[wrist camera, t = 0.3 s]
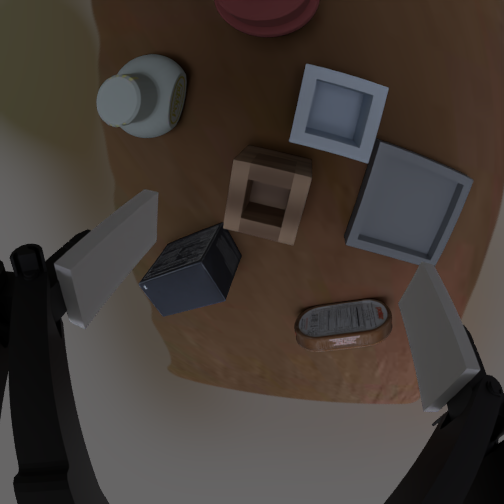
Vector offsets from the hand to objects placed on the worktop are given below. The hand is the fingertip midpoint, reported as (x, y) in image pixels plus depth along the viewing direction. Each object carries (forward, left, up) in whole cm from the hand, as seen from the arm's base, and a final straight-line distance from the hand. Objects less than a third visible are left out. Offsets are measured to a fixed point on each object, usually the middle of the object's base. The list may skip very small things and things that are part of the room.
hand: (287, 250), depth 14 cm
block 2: (-6, +3, -25) cm, 26 cm away
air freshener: (-4, -19, -25) cm, 32 cm away
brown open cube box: (+5, -2, -25) cm, 26 cm away
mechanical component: (-17, -6, -25) cm, 31 cm away
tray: (+3, +16, -25) cm, 30 cm away
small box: (+18, -10, -25) cm, 33 cm away
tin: (+22, +13, -25) cm, 36 cm away
